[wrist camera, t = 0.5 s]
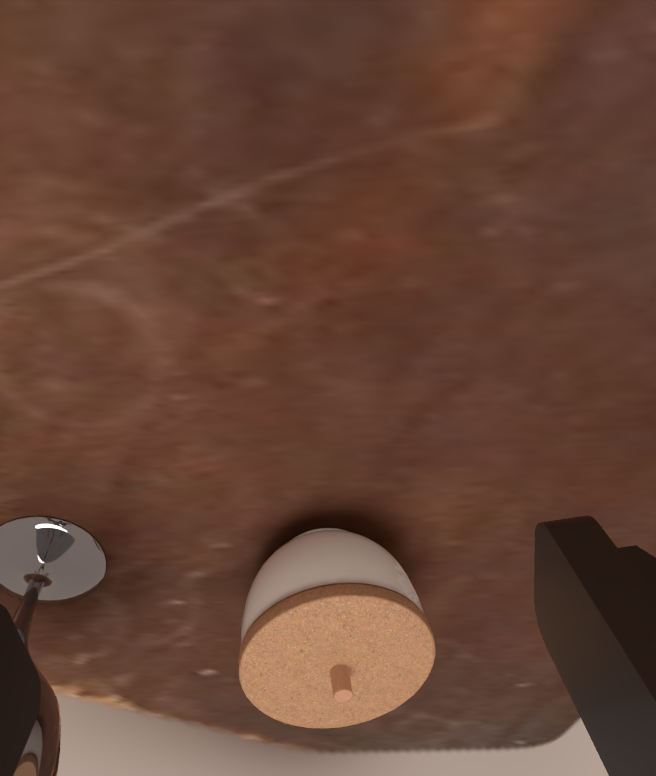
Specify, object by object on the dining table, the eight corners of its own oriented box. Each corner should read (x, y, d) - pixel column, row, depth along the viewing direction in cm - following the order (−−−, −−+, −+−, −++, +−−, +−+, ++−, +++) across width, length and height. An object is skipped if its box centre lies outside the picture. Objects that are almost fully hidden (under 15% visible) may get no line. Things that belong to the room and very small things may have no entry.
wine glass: (25, 487, 34) (-116, 758, 21) (140, 556, 37) (82, 826, 24) (-55, 568, 36) (-229, 861, 23) (62, 626, 39) (-32, 911, 26)
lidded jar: (340, 468, 36) (368, 589, 28) (434, 565, 40) (481, 694, 32) (204, 561, 38) (192, 698, 30) (308, 643, 43) (322, 781, 34)
